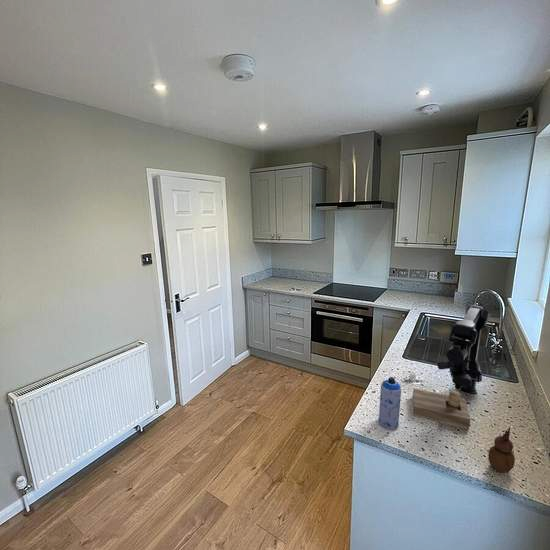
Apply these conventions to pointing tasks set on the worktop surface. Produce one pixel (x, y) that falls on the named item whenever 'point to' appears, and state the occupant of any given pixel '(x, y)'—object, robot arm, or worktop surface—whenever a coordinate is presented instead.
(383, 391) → the aerosol can
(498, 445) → the brown bottle gourd
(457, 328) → the robot arm
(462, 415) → the walnut socket block
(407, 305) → the worktop surface
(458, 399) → the oak peg
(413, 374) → the teacup and saucer
